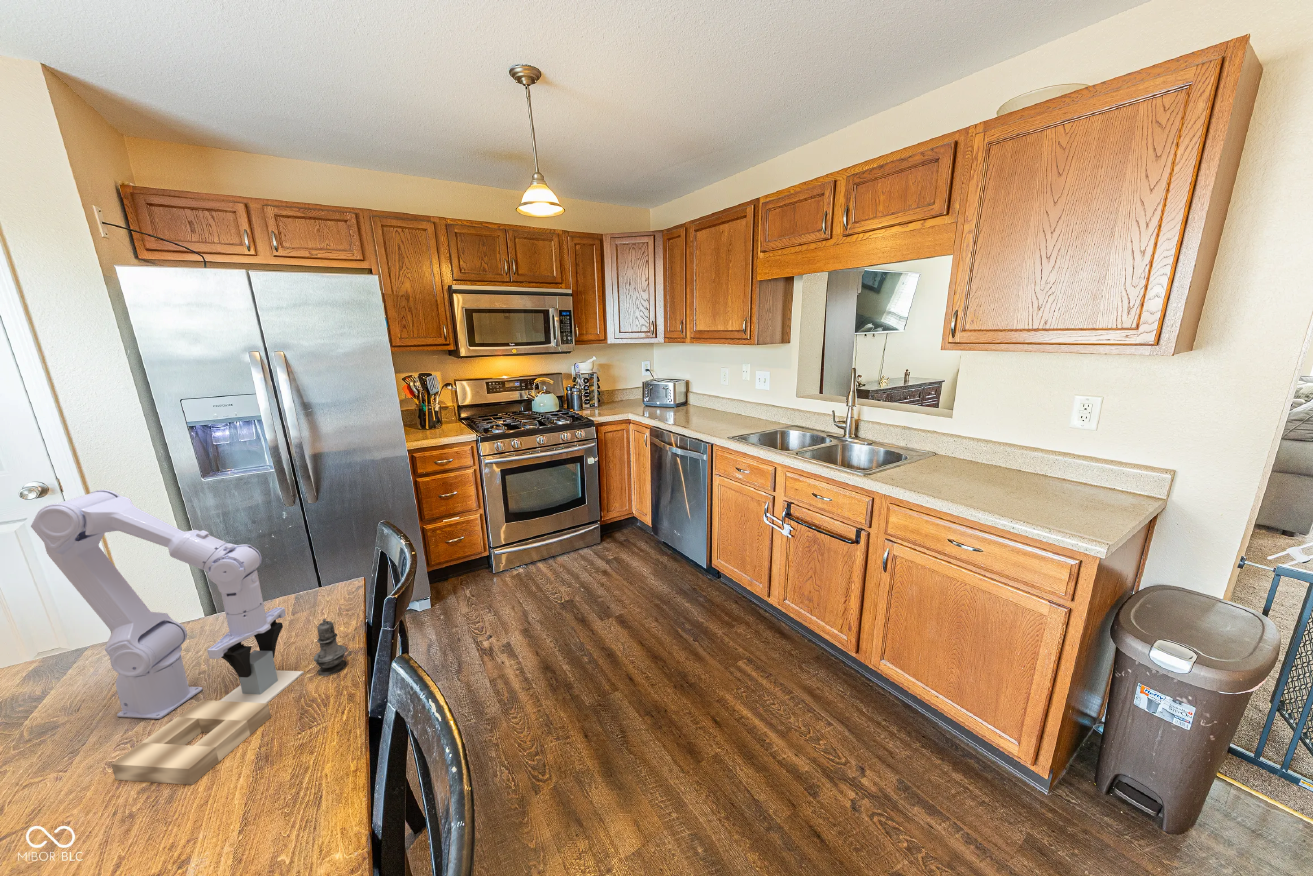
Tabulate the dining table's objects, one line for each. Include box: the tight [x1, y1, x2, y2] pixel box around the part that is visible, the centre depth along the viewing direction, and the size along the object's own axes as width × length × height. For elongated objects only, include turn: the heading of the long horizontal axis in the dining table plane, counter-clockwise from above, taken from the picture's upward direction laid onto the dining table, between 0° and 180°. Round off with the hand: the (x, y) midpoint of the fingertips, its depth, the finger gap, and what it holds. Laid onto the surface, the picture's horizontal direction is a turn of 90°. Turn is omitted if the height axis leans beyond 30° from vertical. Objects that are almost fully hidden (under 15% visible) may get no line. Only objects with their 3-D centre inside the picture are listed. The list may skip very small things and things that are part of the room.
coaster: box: [219, 669, 305, 704], centre depth 96 cm, size 10×10×1 cm
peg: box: [238, 649, 278, 694], centre depth 95 cm, size 4×4×7 cm
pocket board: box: [110, 699, 272, 786], centre depth 82 cm, size 14×14×3 cm
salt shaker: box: [313, 618, 348, 677], centre depth 101 cm, size 6×6×12 cm
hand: (257, 667), depth 95 cm, fingers open, 5 cm apart
